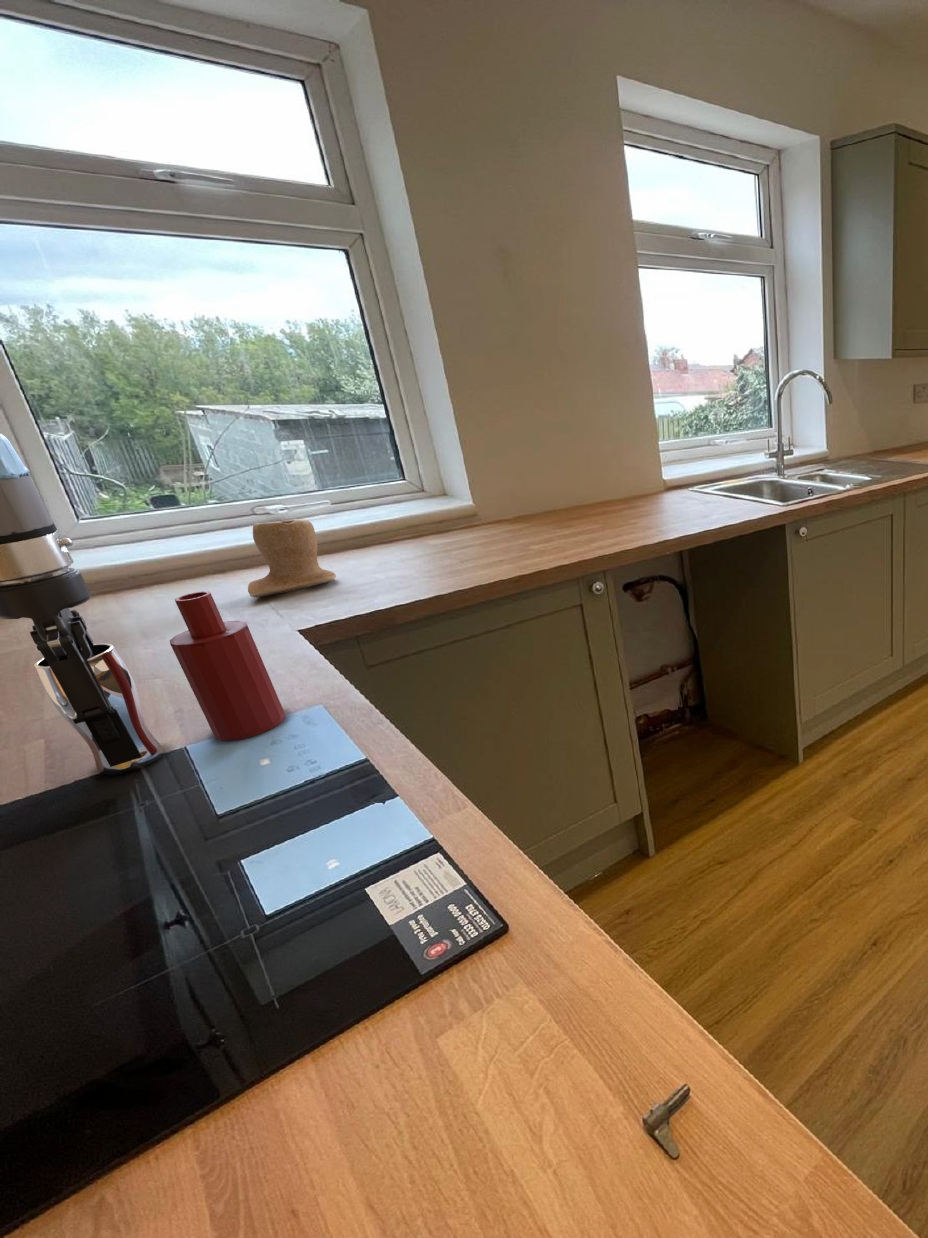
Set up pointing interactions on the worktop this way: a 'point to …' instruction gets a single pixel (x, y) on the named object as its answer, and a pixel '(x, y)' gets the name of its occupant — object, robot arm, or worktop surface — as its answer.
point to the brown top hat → (287, 557)
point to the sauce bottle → (225, 671)
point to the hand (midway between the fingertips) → (126, 750)
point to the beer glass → (120, 697)
